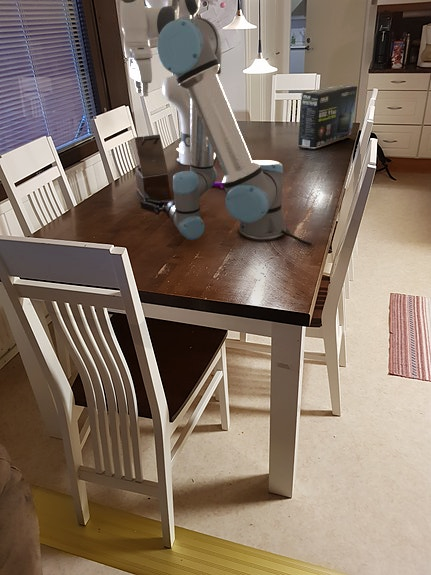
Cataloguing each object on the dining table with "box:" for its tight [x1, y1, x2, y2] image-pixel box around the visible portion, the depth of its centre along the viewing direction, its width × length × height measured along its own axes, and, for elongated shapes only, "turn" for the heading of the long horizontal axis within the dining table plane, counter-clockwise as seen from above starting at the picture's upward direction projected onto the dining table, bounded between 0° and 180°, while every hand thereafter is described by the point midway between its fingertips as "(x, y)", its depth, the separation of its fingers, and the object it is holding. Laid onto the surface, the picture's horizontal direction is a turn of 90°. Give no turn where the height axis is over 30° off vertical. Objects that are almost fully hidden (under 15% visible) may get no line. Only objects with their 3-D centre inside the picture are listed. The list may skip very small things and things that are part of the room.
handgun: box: [211, 181, 224, 189], centre depth 183 cm, size 21×8×2 cm, turn 11°
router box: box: [297, 84, 358, 151], centre depth 238 cm, size 36×11×27 cm, turn 134°
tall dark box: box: [133, 134, 169, 177], centre depth 170 cm, size 15×10×8 cm
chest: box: [134, 166, 171, 201], centre depth 182 cm, size 14×10×10 cm
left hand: (142, 94), depth 165 cm, fingers open, 8 cm apart
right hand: (163, 193), depth 167 cm, fingers open, 13 cm apart
